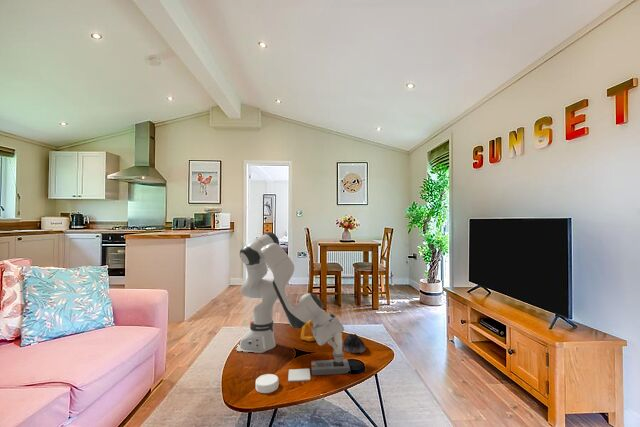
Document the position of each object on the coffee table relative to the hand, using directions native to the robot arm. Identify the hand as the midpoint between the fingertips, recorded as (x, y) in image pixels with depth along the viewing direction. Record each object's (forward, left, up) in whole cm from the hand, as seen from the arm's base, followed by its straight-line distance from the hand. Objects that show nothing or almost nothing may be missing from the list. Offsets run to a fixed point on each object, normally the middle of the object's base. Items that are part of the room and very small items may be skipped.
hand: (339, 345), depth 142 cm
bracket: (-13, +40, -11) cm, 44 cm away
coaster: (-34, -12, -12) cm, 38 cm away
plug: (0, 0, -7) cm, 7 cm away
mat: (-20, -4, -11) cm, 23 cm away
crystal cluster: (+11, +22, -11) cm, 27 cm away
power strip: (-5, 0, -11) cm, 12 cm away
